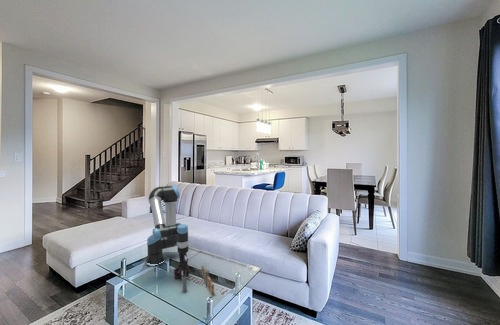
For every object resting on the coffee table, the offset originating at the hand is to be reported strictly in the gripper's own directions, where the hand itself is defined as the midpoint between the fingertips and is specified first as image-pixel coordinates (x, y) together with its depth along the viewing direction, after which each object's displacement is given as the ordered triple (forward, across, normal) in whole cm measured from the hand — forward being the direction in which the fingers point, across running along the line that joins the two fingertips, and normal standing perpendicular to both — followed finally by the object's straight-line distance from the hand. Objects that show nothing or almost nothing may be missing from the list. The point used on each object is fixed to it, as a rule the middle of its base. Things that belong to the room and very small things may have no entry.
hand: (183, 278), depth 164 cm
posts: (+2, -13, -4) cm, 14 cm away
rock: (+3, +7, -1) cm, 7 cm away
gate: (+2, -7, -13) cm, 15 cm away
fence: (+2, -22, -10) cm, 24 cm away
